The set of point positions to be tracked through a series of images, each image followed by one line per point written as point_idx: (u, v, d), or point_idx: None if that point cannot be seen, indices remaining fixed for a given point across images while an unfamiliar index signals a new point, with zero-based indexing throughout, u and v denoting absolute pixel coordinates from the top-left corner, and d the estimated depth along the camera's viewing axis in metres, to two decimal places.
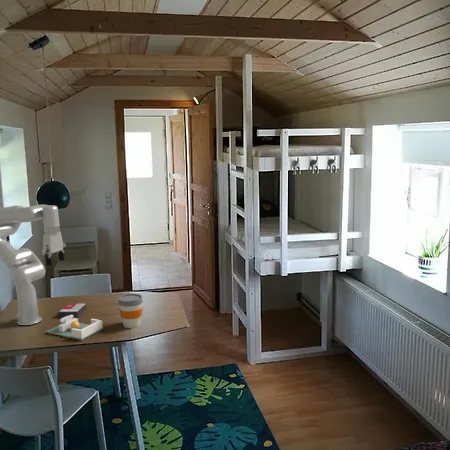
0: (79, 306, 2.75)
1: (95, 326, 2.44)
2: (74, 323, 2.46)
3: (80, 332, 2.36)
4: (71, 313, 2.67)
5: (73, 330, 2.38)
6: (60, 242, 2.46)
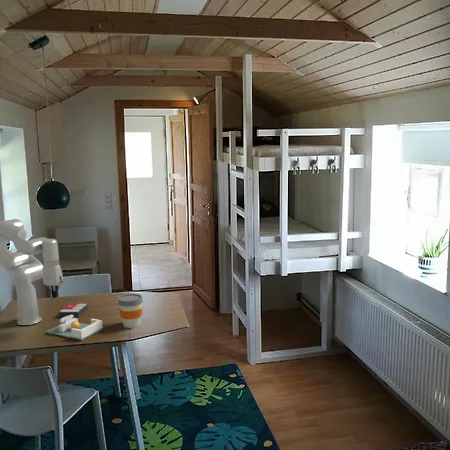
0: (80, 306, 2.75)
1: (95, 326, 2.44)
2: (74, 323, 2.46)
3: (80, 332, 2.36)
4: (72, 313, 2.67)
5: (73, 330, 2.38)
6: None
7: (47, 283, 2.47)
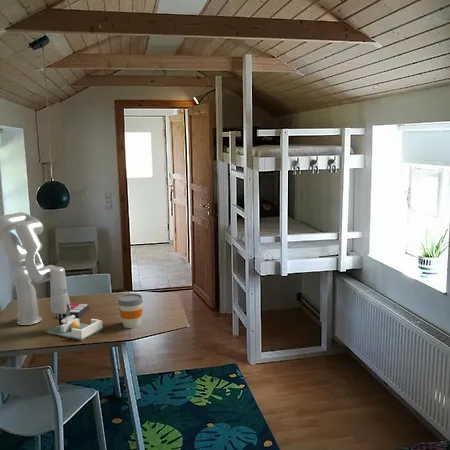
0: (81, 307, 2.75)
1: (95, 326, 2.44)
2: (74, 323, 2.46)
3: (80, 332, 2.36)
4: (72, 313, 2.66)
5: (73, 330, 2.38)
6: None
7: (55, 311, 2.48)
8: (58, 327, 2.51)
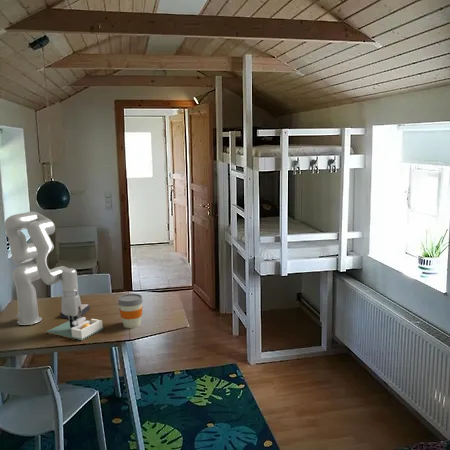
0: (82, 307, 2.74)
1: (95, 326, 2.44)
2: None
3: (80, 332, 2.36)
4: None
5: (73, 330, 2.38)
6: None
7: (66, 313, 2.45)
8: (58, 327, 2.51)
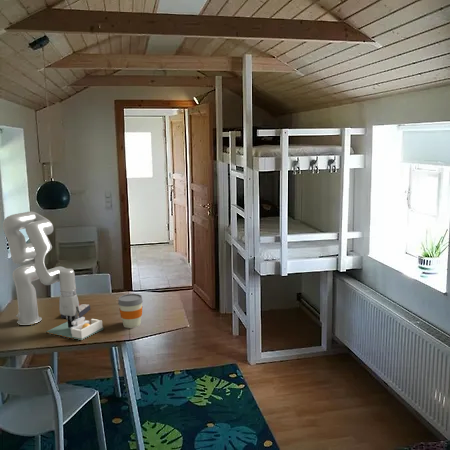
0: (82, 307, 2.74)
1: (95, 326, 2.44)
2: None
3: (80, 332, 2.36)
4: None
5: (73, 330, 2.38)
6: None
7: (64, 313, 2.45)
8: (58, 327, 2.51)
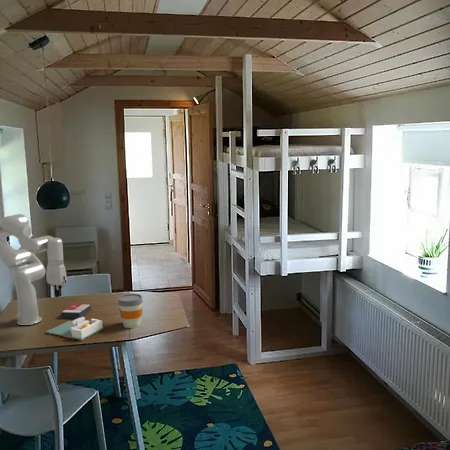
0: (83, 307, 2.74)
1: (95, 326, 2.44)
2: None
3: (80, 332, 2.36)
4: (73, 314, 2.66)
5: (73, 330, 2.38)
6: None
7: (50, 282, 2.46)
8: (58, 327, 2.51)
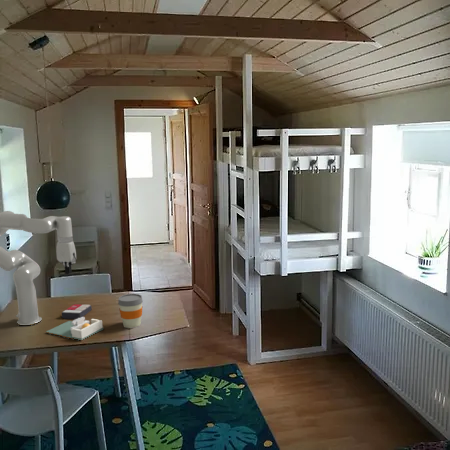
0: (83, 307, 2.73)
1: (95, 326, 2.44)
2: None
3: (80, 332, 2.36)
4: (74, 314, 2.65)
5: (73, 330, 2.38)
6: None
7: (61, 260, 2.54)
8: (58, 327, 2.51)
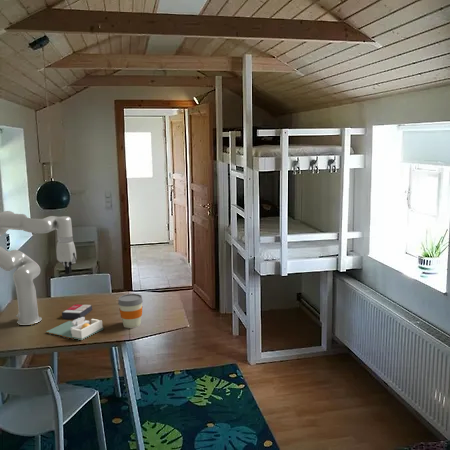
0: (84, 307, 2.73)
1: (95, 326, 2.44)
2: None
3: (80, 332, 2.36)
4: (74, 314, 2.65)
5: (73, 330, 2.38)
6: None
7: (61, 260, 2.54)
8: (58, 327, 2.51)
